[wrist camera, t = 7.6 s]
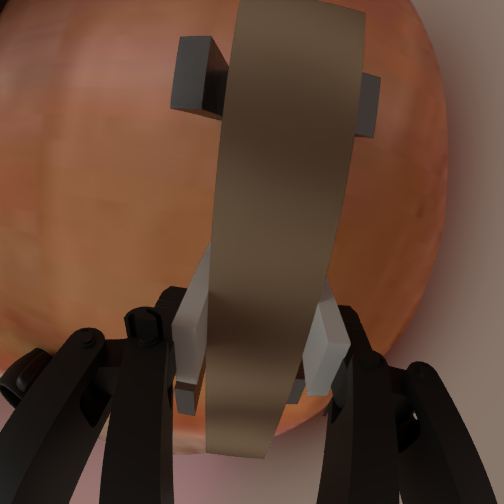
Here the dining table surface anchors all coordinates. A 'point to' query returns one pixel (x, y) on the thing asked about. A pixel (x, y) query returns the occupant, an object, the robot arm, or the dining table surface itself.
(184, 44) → the bracket
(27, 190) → the dining table surface
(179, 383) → the bracket
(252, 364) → the rail
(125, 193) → the dining table surface
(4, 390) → the mug
